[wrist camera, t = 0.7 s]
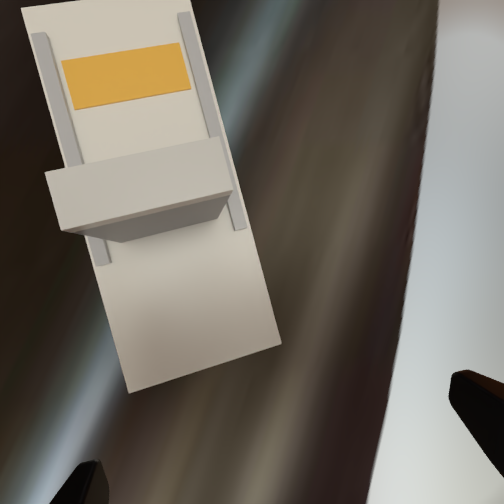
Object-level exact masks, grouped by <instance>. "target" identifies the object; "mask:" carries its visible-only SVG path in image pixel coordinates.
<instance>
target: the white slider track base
mask: <svg viewBox="0 0 504 504" xmlns="http://www.w3.org/2000/svg"><path fill="white" fill-rule="evenodd" d="M21 11H22V14H23V18H24V21H25V25H26V28H27V32H28V36H29V39H30V43H31V46H32V50H33V53H34V57H35V61H36V64H37V68H38V71H39V75H40V78H41V82H42V86H43V89H44V93H45V96H46V100H47V103H48V107H49V111H50V114H51V118H52V121H53V125H54V128H55V132H56V135H57V139H58V143H59V146H60V150H61V153H62V157H63V160H64V164H65V168H68V167H73V166H78V165H82V164H87V163H92V162H97V161H102V160H106V159H111V158H116V157H121V156H126V155H130V154H135V153H140V152H145V151H150V150H155V149H159V148H164V147H169V146H174V145H179V144H183V143H188V142H193V141H198V140H203V139H208V138H212V137H217V136H219V137H220V141H221V145H222V148H223V152H224V156H225V160H226V163H227V167H228V171H229V175H230V178H231V182H232V186H233V191H232V193H231V195H230V197H229V199H228V201H227V202H226V204H225V206H224V208H223V210H222V211H221V213H220V215H219V217H218V219H214V220H210V221H206V222H202V223H198V224H194V225H190V226H186V227H182V228H178V229H174V230H170V231H166V232H162V233H158V234H154V235H150V236H146V237H142V238H138V239H134V240H130V241H126V242H122V243H119V242H114V241H110V240H105V239H100V238H95V237H90V236H86V235H85V239H86V243H87V246H88V250H89V253H90V257H91V260H92V264H93V268H94V271H95V275H96V278H97V282H98V285H99V289H100V293H101V296H102V300H103V303H104V307H105V310H106V314H107V318H108V321H109V325H110V328H111V332H112V335H113V339H114V343H115V346H116V350H117V353H118V357H119V360H120V364H121V368H122V371H123V375H124V378H125V382H126V385H127V389H128V392H129V393H132V392H135V391H138V390H141V389H144V388H148V387H151V386H154V385H157V384H160V383H163V382H166V381H169V380H172V379H175V378H178V377H181V376H184V375H187V374H191V373H194V372H197V371H200V370H203V369H206V368H209V367H212V366H215V365H218V364H221V363H224V362H227V361H231V360H234V359H237V358H240V357H243V356H246V355H249V354H252V353H255V352H258V351H261V350H264V349H267V348H271V347H274V346H277V345H280V344H282V343H281V339H280V336H279V332H278V328H277V324H276V321H275V317H274V313H273V309H272V306H271V302H270V298H269V294H268V291H267V287H266V283H265V279H264V276H263V272H262V268H261V264H260V261H259V257H258V253H257V250H256V246H255V242H254V238H253V235H252V231H251V227H250V223H249V220H248V216H247V212H246V208H245V205H244V201H243V197H242V193H241V190H240V186H239V182H238V178H237V175H236V171H235V167H234V163H233V160H232V156H231V152H230V148H229V145H228V141H227V137H226V133H225V130H224V126H223V122H222V118H221V115H220V111H219V107H218V104H217V100H216V96H215V92H214V89H213V85H212V81H211V77H210V74H209V70H208V66H207V62H206V59H205V55H204V51H203V47H202V44H201V40H200V36H199V32H198V29H197V25H196V21H195V17H194V14H193V10H192V6H191V2H190V0H80V1H72V2H65V3H57V4H49V5H41V6H33V7H26V8H21Z"/></svg>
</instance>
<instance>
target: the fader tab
mask: <svg viewBox="0 0 504 504" xmlns="http://www.w3.org/2000/svg"><path fill="white" fill-rule="evenodd" d="M45 175H46V179H47V182H48V186H49V189H50V193H51V196H52V200H53V203H54V207H55V210H56V214H57V218H58V221H59V225H60V228H61V230H62V231H66V232H71V233H76V234H81V235H86V236H90V237H95V238H100V239H105V240H110V241H114V242H119V243H122V242H126V241H130V240H134V239H138V238H142V237H146V236H150V235H154V234H158V233H162V232H166V231H170V230H174V229H178V228H182V227H186V226H190V225H194V224H198V223H202V222H206V221H210V220H214V219H218V217H219V215H220V213H221V211H222V210H223V208H224V206H225V204H226V202H227V201H228V199H229V197H230V195H231V193H232V191H233V186H232V182H231V178H230V175H229V171H228V167H227V163H226V160H225V156H224V152H223V148H222V145H221V141H220V137H219V136H217V137H212V138H208V139H203V140H198V141H193V142H188V143H183V144H179V145H174V146H169V147H164V148H159V149H155V150H150V151H145V152H140V153H135V154H130V155H126V156H121V157H116V158H111V159H106V160H102V161H97V162H92V163H87V164H82V165H78V166H73V167H68V168H63V169H58V170H53V171H49V172H45Z"/></svg>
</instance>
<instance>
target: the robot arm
mask: <svg viewBox="0 0 504 504" xmlns="http://www.w3.org/2000/svg"><path fill="white" fill-rule="evenodd" d="M449 400H450V403H451V405H452V407H453V409H454V410H455V411H456V412H457V414H458V416H459V417H460V418H461V420H462V421H463V423H464V424H465V426H466V427H467V428H468V430H469V431H470V433H471V434H472V436H473V437H474V438H475V440H476V441H477V443H478V444H479V446H480V447H481V448H482V450H483V452H484V453H485V454H486V456H487V457H488V458H489V460H490V461H491V463H492V464H493V465H494V466H495V468H496V469H497V470H498V471H499V473H500V474H501V475H502V476H503V477H504V383H501V382H499V381H496V380H494V379H491V378H489V377H486V376H484V375H481V374H479V373H476V372H474V371H471V370H462V371H458V372H455V373H453V374H452V377H451V383H450V389H449ZM49 504H109V484H108V481H107V478H106V475H105V472H104V469H103V466H102V463H101V461H100V460H98V459H95V460H91V461H87V462H83V463H80V464H79V465H78V466H77V467H76V468H75V470H74V471H73V472H72V474H71V475H70V476H69V478H68V479H67V480H66V482H65V483H64V484H63V486H62V487H61V488H60V490H59V491H58V492H57V494H56V495H55V497H54V498H53V499H52V501H51V502H50V503H49Z"/></svg>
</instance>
